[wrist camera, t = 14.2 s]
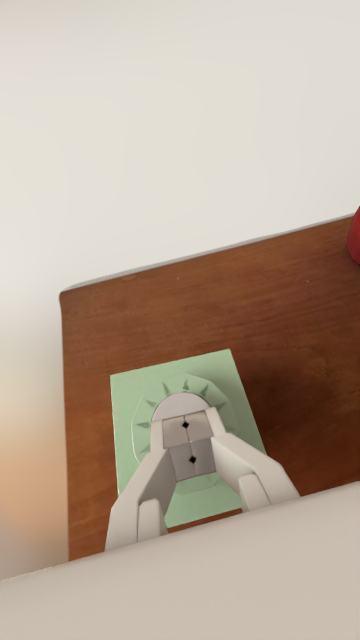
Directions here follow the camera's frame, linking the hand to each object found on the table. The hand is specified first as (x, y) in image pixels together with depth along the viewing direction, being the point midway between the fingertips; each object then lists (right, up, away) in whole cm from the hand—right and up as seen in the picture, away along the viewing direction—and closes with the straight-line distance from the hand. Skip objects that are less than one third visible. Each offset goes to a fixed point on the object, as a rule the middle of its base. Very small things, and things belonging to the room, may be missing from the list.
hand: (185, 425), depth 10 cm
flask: (+1, -8, +16) cm, 18 cm away
